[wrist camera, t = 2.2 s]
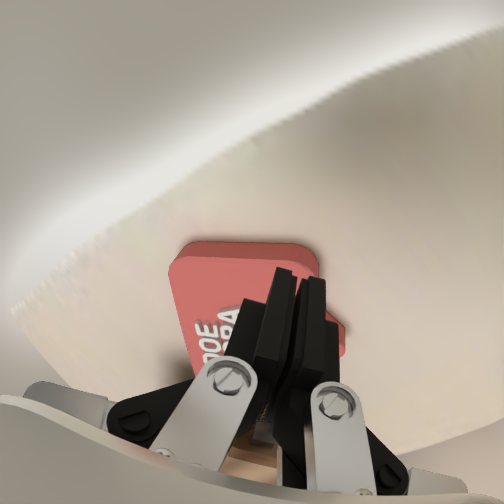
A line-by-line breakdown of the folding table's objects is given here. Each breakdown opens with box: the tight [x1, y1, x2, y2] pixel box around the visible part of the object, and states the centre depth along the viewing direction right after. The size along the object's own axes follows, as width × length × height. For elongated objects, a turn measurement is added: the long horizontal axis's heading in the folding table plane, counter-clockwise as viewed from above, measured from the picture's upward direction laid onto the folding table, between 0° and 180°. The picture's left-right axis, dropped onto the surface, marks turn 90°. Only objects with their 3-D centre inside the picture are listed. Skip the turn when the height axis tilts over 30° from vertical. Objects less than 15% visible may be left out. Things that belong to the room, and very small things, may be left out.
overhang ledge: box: [219, 421, 278, 485], centre depth 33 cm, size 20×12×10 cm, turn 78°
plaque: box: [168, 241, 345, 378], centre depth 29 cm, size 18×4×15 cm
